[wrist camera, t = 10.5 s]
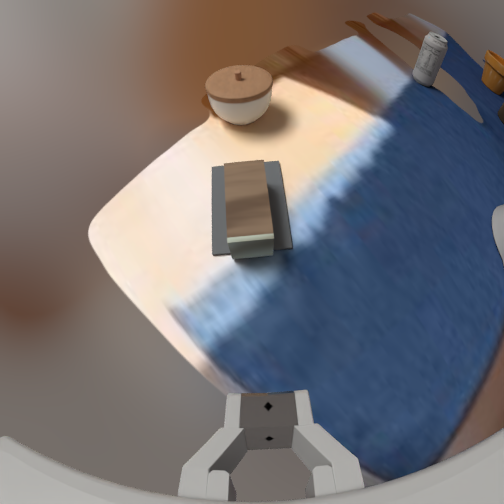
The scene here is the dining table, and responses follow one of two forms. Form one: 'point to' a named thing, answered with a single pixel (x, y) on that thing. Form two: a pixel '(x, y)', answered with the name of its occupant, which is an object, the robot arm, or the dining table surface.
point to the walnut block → (248, 210)
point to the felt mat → (276, 206)
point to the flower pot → (494, 72)
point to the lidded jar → (240, 93)
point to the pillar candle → (501, 113)
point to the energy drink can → (430, 59)
